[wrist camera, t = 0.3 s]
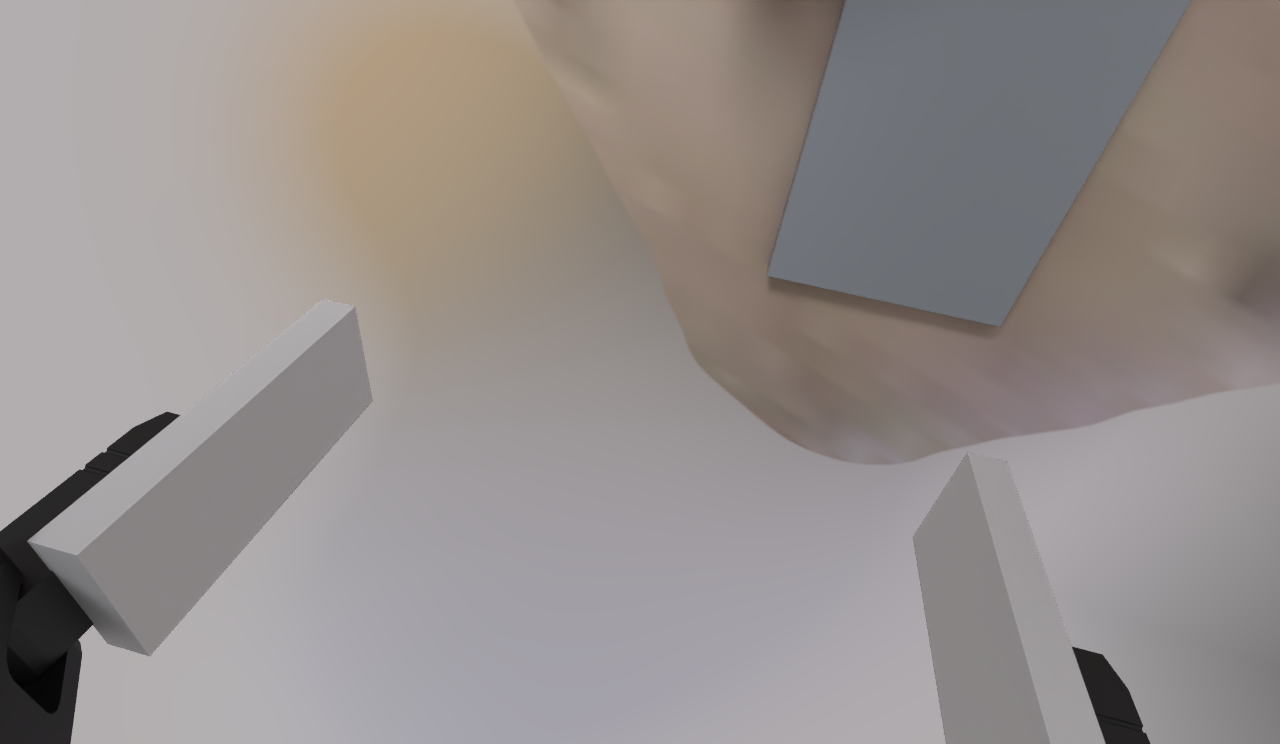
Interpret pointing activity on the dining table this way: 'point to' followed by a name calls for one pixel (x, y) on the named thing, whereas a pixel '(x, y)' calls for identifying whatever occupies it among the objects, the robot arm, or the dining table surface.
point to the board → (958, 143)
